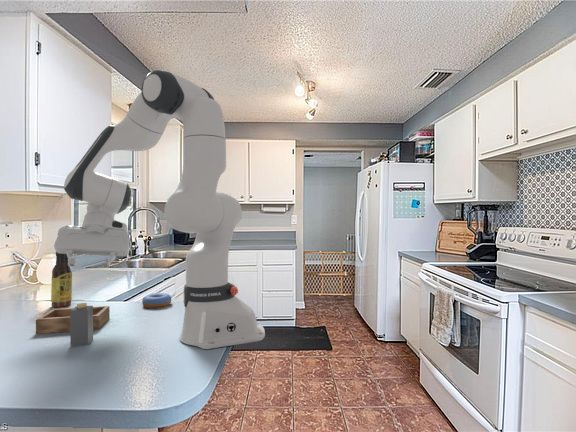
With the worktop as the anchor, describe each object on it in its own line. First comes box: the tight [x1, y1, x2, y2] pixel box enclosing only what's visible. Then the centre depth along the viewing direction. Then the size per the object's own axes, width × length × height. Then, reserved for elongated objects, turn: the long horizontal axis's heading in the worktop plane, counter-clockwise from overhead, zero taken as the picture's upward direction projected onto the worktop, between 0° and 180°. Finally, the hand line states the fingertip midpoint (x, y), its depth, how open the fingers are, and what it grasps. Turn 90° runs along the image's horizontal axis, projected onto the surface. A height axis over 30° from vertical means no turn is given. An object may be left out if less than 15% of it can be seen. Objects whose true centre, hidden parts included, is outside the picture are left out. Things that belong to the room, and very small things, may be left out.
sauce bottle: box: [50, 251, 73, 308], centre depth 128 cm, size 7×6×20 cm
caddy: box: [35, 305, 111, 335], centre depth 105 cm, size 16×11×4 cm
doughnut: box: [141, 292, 172, 309], centre depth 128 cm, size 10×10×5 cm
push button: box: [69, 302, 94, 347], centre depth 91 cm, size 4×4×10 cm
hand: (89, 265), depth 104 cm, fingers open, 8 cm apart
